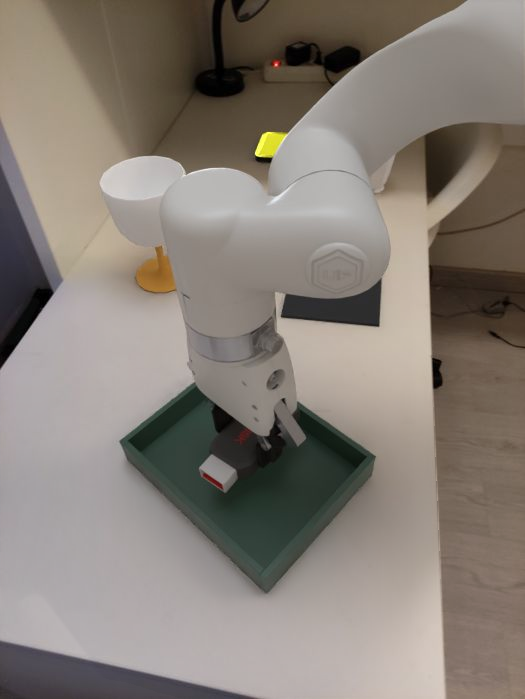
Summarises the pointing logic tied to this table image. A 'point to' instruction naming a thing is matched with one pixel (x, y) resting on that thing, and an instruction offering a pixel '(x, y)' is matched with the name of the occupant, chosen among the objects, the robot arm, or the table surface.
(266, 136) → the game console
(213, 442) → the usb drive
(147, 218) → the cup
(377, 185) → the cup
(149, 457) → the bin
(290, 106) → the table surface
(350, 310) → the mat
